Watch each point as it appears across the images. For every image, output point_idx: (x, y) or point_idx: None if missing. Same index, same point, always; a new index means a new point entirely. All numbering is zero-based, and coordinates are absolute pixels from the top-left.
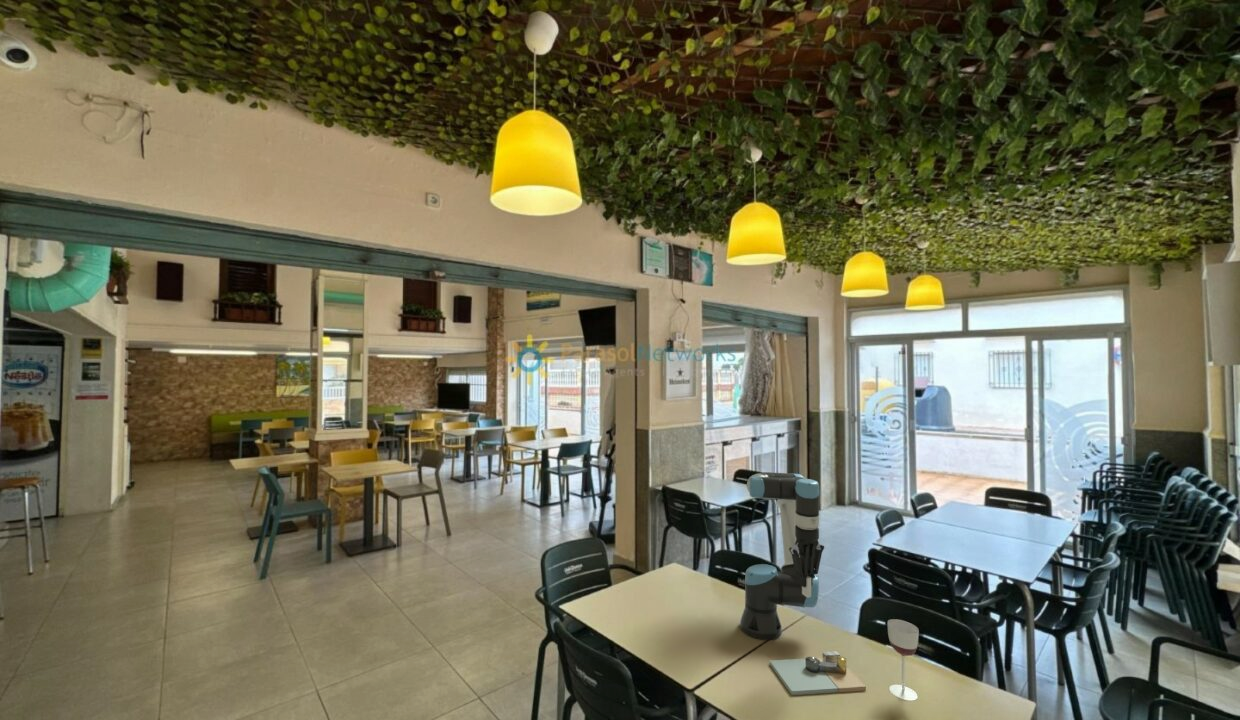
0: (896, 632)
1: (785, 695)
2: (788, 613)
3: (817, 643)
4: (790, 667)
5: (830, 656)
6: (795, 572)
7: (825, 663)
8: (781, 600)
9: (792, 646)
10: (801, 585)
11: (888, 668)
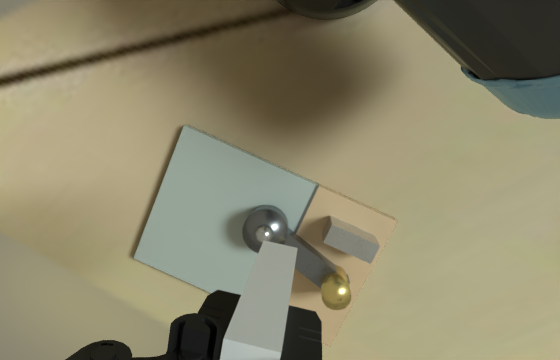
0: None
1: (123, 245)
2: None
3: (434, 118)
4: (214, 183)
5: (338, 248)
6: (74, 356)
7: (299, 252)
8: None
9: (338, 87)
10: (215, 295)
11: (491, 320)
